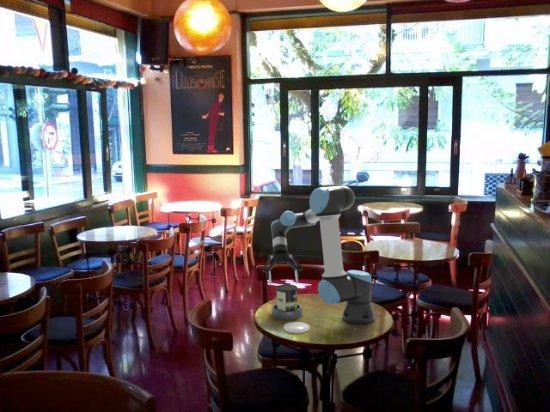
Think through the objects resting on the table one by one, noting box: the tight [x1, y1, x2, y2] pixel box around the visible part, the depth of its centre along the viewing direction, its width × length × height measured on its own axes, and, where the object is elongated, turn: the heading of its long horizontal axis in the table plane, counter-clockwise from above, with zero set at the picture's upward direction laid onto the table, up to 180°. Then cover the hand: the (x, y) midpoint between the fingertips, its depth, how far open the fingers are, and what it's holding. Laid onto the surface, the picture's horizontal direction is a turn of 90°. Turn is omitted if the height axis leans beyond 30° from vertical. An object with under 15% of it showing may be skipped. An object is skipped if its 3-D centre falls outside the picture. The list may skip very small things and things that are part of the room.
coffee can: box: [275, 283, 298, 311], centre depth 260 cm, size 10×10×14 cm
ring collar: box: [271, 302, 303, 321], centre depth 261 cm, size 14×14×4 cm
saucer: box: [283, 321, 311, 335], centre depth 243 cm, size 12×12×1 cm
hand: (283, 283), depth 267 cm, fingers open, 13 cm apart
